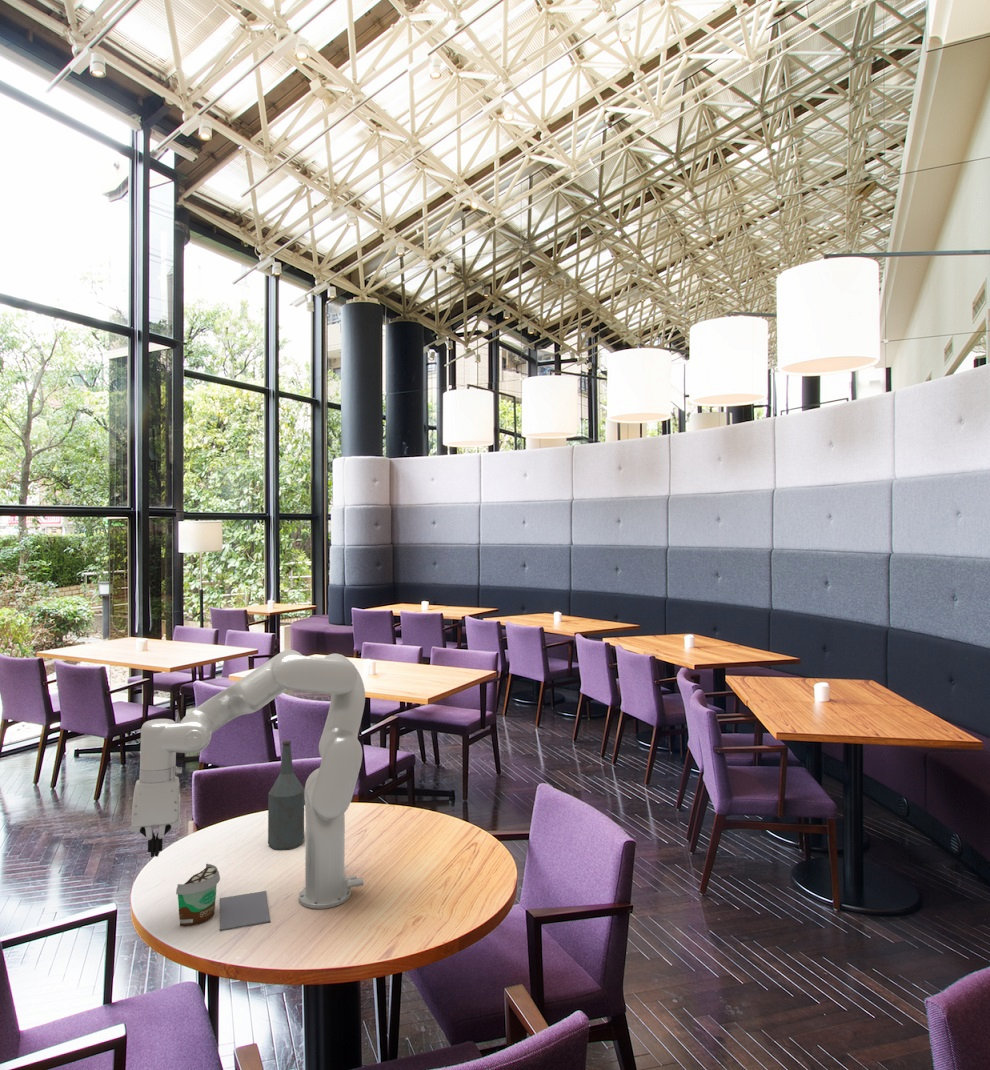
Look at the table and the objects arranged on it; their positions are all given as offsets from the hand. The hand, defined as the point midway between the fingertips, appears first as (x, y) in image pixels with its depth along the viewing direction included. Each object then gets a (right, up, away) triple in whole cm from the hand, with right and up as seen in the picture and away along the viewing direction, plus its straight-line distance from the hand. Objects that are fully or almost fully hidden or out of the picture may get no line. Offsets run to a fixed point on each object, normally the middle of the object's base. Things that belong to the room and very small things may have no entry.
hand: (154, 854), depth 169 cm
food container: (+10, -17, +3) cm, 20 cm away
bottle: (+17, -17, +47) cm, 53 cm away
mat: (+18, -16, +7) cm, 25 cm away
